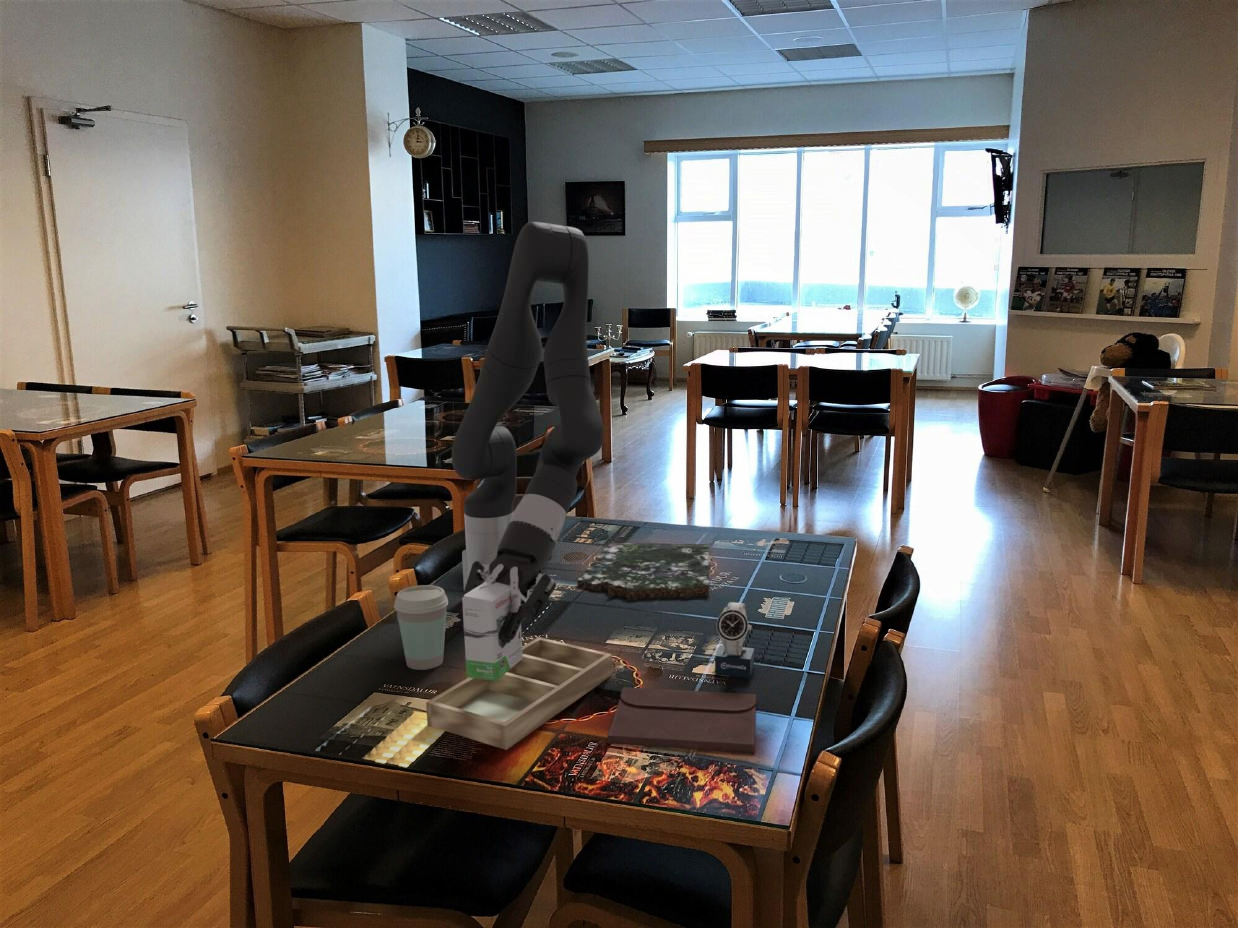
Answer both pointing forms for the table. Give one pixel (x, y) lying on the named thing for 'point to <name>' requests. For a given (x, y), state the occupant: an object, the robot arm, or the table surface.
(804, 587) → the table surface
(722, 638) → the watch
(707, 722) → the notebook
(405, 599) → the coffee cup
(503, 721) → the compartment tray
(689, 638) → the table surface
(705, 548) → the topographical map
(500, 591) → the ink box
